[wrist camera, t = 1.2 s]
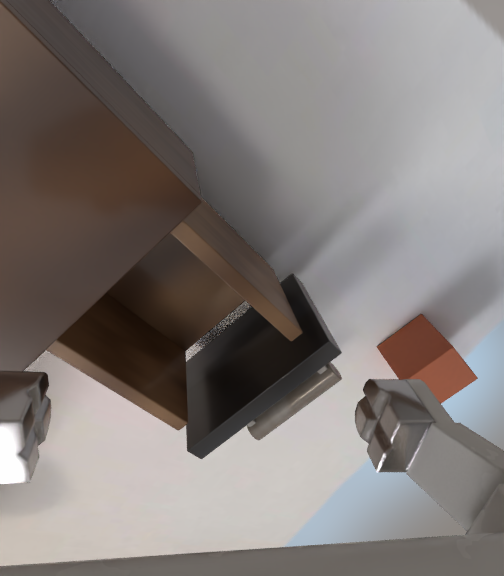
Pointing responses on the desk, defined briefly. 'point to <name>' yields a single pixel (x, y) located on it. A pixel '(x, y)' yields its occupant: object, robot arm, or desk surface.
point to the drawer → (195, 324)
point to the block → (427, 358)
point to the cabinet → (74, 178)
